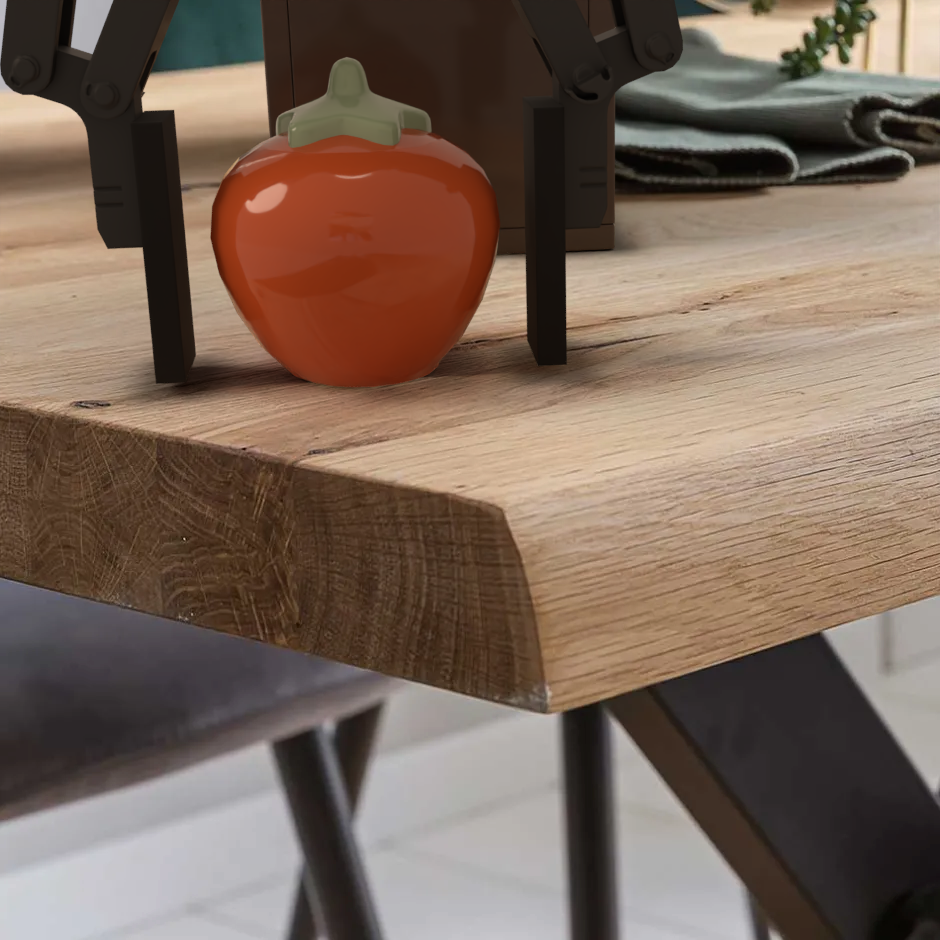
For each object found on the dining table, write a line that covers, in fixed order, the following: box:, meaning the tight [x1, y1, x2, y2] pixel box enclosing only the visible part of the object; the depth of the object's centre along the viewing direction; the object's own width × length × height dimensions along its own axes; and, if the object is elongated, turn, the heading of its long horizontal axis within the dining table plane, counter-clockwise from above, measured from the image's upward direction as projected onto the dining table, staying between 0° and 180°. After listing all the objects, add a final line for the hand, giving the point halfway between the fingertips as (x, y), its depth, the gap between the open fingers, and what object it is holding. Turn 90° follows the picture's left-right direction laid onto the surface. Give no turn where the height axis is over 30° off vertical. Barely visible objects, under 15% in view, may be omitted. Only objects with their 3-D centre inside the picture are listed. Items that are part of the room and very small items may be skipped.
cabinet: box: [259, 0, 616, 255], centre depth 60 cm, size 14×12×10 cm
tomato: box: [209, 57, 500, 388], centre depth 40 cm, size 7×7×8 cm
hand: (362, 360), depth 41 cm, fingers open, 9 cm apart
